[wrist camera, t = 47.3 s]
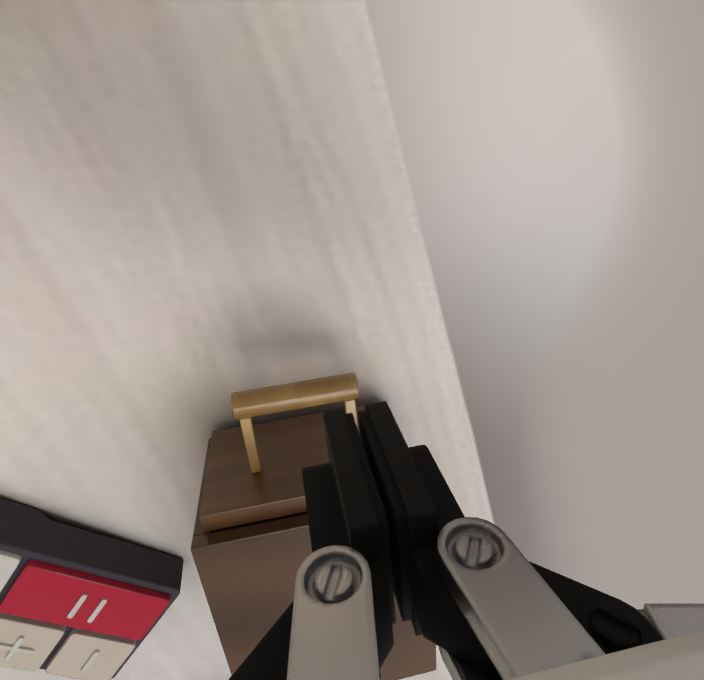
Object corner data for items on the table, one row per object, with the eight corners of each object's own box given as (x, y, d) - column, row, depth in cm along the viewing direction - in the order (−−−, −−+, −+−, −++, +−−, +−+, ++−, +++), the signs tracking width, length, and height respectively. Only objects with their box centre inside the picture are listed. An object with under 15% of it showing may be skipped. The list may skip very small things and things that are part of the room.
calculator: (109, 692, 36) (-122, 656, 30) (121, 637, 40) (-82, 596, 34) (181, 601, 34) (-54, 542, 28) (186, 552, 38) (-20, 490, 31)
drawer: (194, 362, 30) (174, 434, 23) (379, 333, 31) (414, 392, 24) (250, 577, 38) (248, 680, 31) (393, 546, 40) (423, 637, 32)
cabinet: (208, 439, 33) (190, 549, 24) (389, 406, 35) (433, 499, 26) (248, 589, 40) (245, 719, 31) (399, 556, 42) (436, 670, 33)
